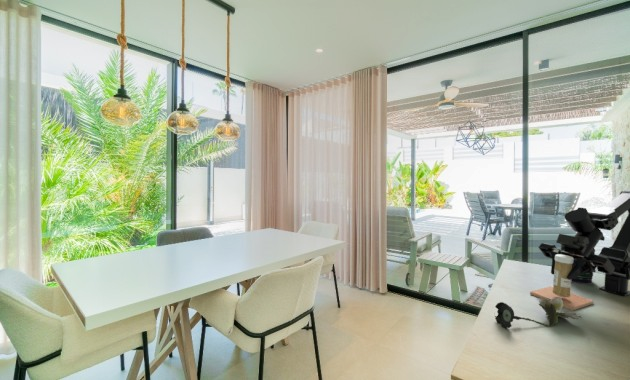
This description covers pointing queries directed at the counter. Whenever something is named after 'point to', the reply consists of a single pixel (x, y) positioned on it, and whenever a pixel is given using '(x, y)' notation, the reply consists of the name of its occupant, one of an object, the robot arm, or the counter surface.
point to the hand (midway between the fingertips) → (559, 276)
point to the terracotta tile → (563, 298)
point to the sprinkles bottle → (562, 275)
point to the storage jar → (582, 278)
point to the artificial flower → (550, 308)
